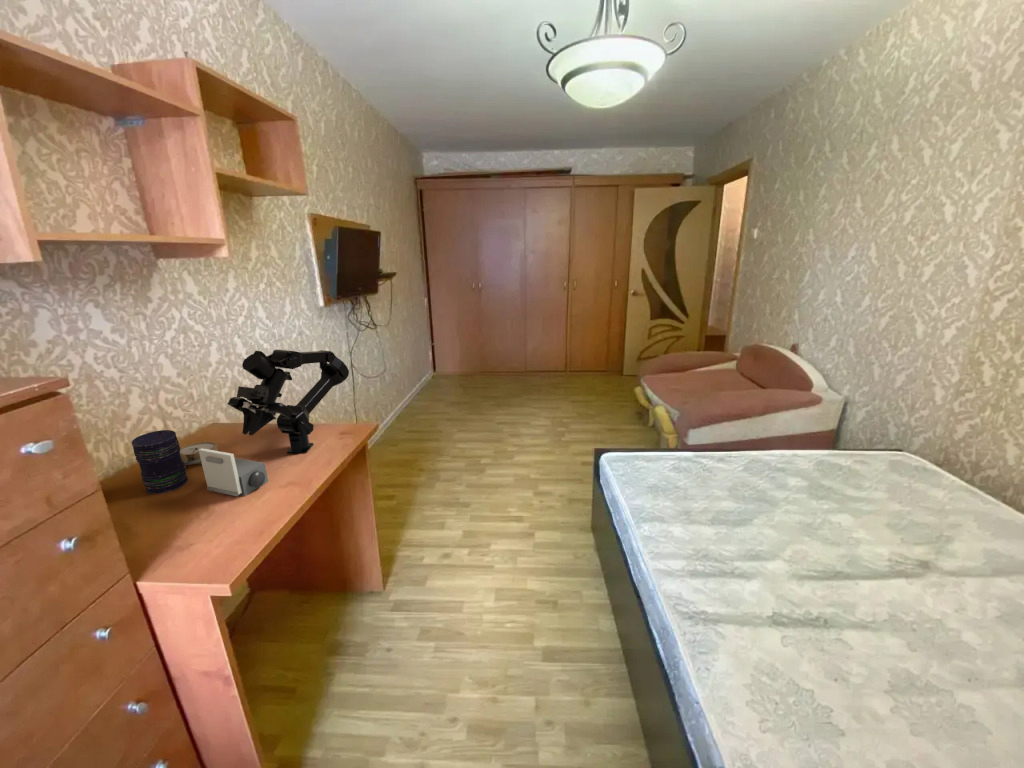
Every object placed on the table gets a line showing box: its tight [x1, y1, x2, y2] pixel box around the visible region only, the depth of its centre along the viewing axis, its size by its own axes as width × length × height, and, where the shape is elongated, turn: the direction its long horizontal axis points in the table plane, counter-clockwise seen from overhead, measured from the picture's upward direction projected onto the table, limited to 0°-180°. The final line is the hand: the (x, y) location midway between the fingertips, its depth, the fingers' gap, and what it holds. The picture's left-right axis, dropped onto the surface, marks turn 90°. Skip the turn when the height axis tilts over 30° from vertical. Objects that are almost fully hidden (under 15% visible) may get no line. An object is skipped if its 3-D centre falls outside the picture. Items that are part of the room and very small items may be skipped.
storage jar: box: [131, 429, 189, 495], centre depth 122 cm, size 10×10×15 cm
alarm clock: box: [180, 441, 219, 467], centre depth 138 cm, size 11×5×15 cm
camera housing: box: [234, 457, 269, 497], centre depth 124 cm, size 8×13×6 cm, turn 73°
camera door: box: [199, 448, 242, 497], centre depth 118 cm, size 2×11×12 cm, turn 73°
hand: (247, 434), depth 125 cm, fingers closed
